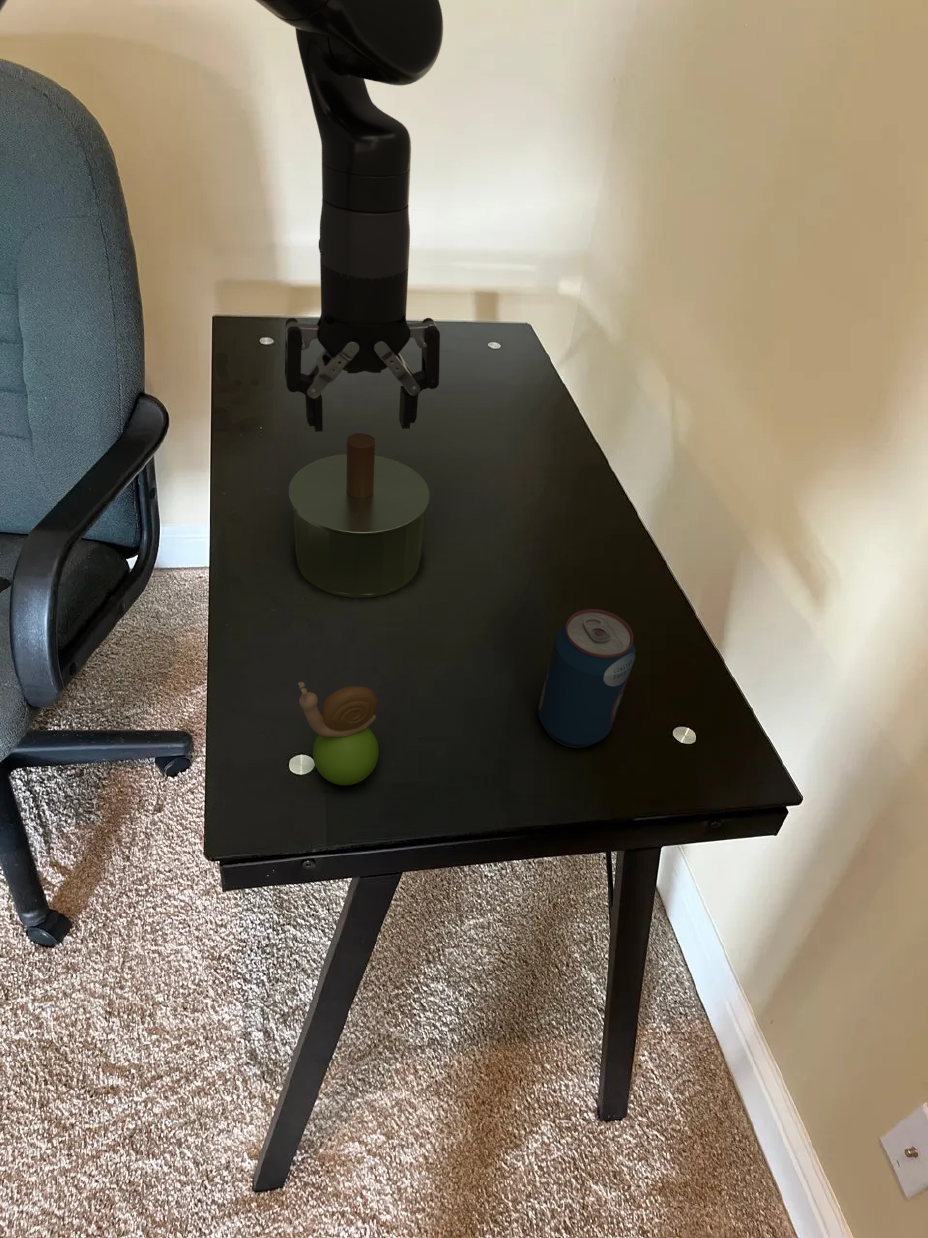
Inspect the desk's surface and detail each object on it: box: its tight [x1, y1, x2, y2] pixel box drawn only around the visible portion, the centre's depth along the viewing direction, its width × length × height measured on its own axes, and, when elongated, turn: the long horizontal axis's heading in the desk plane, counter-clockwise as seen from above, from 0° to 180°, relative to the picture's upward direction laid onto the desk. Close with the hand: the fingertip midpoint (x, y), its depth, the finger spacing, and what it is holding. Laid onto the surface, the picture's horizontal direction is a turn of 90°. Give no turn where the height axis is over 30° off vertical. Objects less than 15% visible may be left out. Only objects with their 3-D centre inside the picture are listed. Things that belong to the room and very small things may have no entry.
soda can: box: [537, 608, 636, 749], centre depth 73 cm, size 7×7×12 cm
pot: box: [293, 509, 426, 599], centre depth 89 cm, size 14×14×8 cm
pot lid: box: [288, 432, 431, 536], centre depth 85 cm, size 15×15×7 cm
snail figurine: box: [297, 681, 380, 786], centre depth 66 cm, size 5×6×12 cm
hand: (361, 426), depth 81 cm, fingers open, 8 cm apart
